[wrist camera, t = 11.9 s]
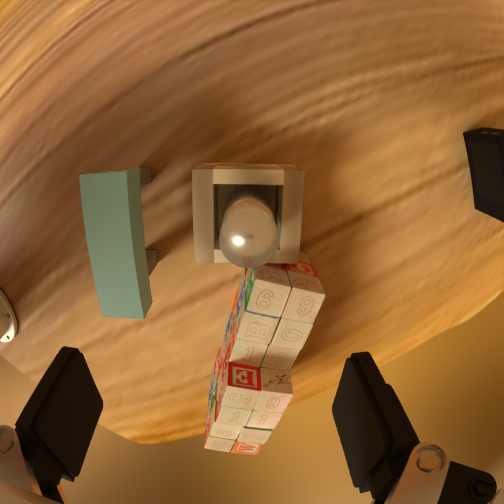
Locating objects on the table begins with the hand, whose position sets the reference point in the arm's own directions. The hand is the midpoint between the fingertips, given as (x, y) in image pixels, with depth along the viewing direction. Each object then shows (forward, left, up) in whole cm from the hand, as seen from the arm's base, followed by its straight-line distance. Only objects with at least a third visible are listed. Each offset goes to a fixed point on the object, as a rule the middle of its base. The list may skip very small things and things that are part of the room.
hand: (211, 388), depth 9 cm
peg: (+2, +1, -22) cm, 22 cm away
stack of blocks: (+3, -14, -23) cm, 27 cm away
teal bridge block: (-9, 0, -23) cm, 24 cm away
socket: (+2, +1, -23) cm, 23 cm away
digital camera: (+32, +8, -23) cm, 40 cm away
